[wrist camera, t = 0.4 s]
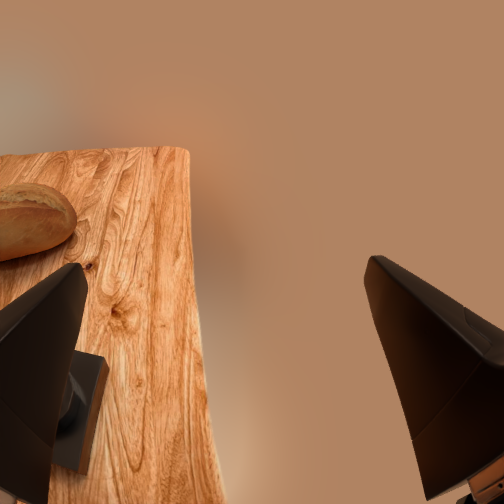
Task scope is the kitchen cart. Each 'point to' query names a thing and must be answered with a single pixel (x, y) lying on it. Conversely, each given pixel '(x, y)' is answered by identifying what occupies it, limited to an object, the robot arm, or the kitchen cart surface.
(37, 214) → the bread roll
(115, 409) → the kitchen cart surface
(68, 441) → the control block
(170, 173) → the kitchen cart surface
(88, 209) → the kitchen cart surface
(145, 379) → the kitchen cart surface
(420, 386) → the robot arm
